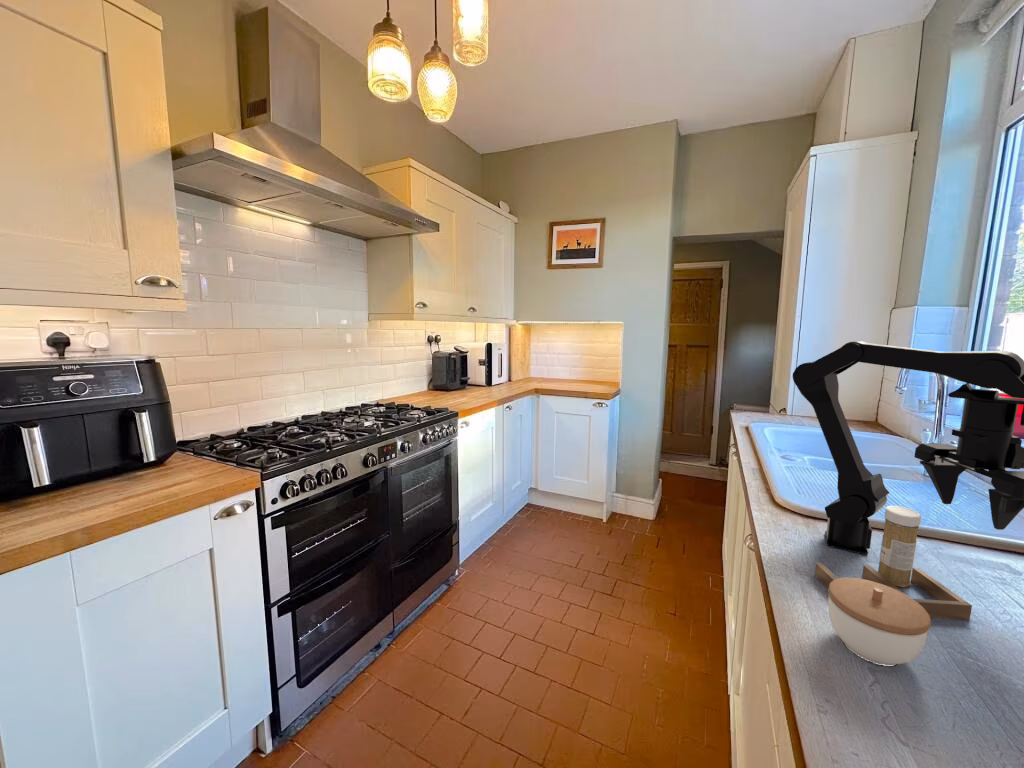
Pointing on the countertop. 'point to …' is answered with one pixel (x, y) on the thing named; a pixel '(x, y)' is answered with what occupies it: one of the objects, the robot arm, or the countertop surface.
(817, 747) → the countertop surface
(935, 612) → the walnut lanes
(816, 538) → the countertop surface
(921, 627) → the lidded jar
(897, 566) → the sprinkles bottle
